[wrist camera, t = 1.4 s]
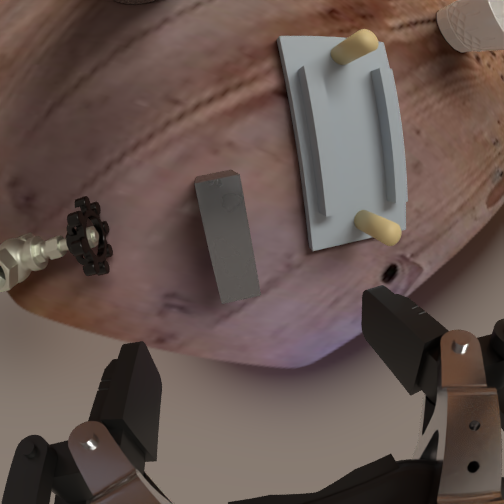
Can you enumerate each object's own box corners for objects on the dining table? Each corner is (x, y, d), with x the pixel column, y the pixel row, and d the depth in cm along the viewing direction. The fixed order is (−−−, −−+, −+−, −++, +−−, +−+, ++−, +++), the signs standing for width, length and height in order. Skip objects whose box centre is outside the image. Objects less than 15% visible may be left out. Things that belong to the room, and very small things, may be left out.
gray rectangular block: (196, 176, 24) (194, 183, 18) (230, 169, 24) (239, 174, 19) (217, 272, 27) (221, 303, 21) (248, 265, 27) (260, 295, 22)
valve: (27, 282, 24) (119, 258, 25) (-3, 311, 18) (97, 290, 19) (7, 224, 22) (99, 190, 23) (-30, 243, 15) (68, 203, 17)
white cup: (427, 27, 21) (485, 9, 12) (436, -4, 19) (486, -23, 10) (466, 68, 23) (523, 62, 14) (473, 34, 22) (523, 24, 12)
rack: (276, 39, 21) (296, 13, 15) (378, 44, 22) (412, 29, 16) (309, 247, 28) (335, 272, 22) (400, 227, 29) (436, 243, 23)
